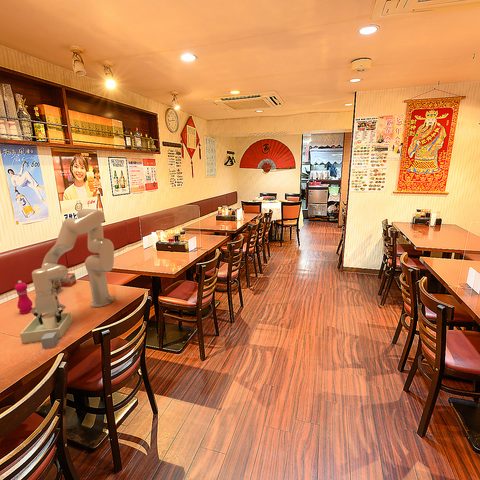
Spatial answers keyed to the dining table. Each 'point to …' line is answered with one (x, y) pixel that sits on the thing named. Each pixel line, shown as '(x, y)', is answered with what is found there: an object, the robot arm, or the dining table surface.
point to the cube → (49, 340)
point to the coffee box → (56, 285)
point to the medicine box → (68, 280)
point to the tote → (37, 331)
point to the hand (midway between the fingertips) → (50, 322)
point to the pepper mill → (23, 298)
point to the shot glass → (49, 320)
